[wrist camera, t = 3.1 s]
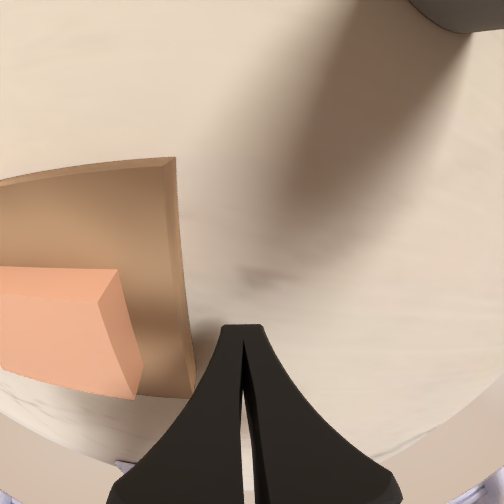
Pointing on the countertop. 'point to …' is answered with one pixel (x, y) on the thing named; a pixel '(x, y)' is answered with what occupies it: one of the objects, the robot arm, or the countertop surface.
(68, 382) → the tile
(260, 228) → the countertop surface
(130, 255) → the board
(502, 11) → the bottle
